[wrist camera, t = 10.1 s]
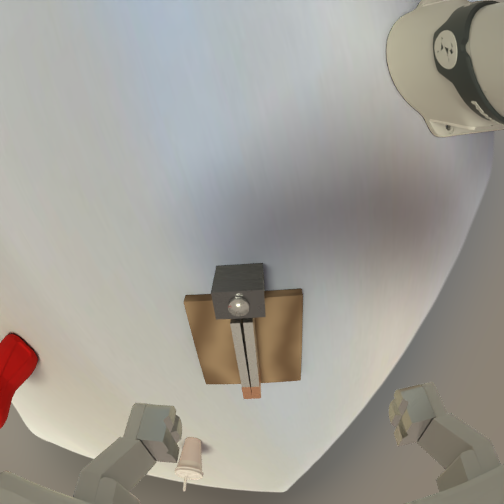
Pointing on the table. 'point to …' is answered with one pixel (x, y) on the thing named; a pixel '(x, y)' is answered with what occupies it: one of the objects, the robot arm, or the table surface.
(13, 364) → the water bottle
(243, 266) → the pivot block
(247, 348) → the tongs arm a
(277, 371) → the walnut board
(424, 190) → the table surface
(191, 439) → the smoothie
